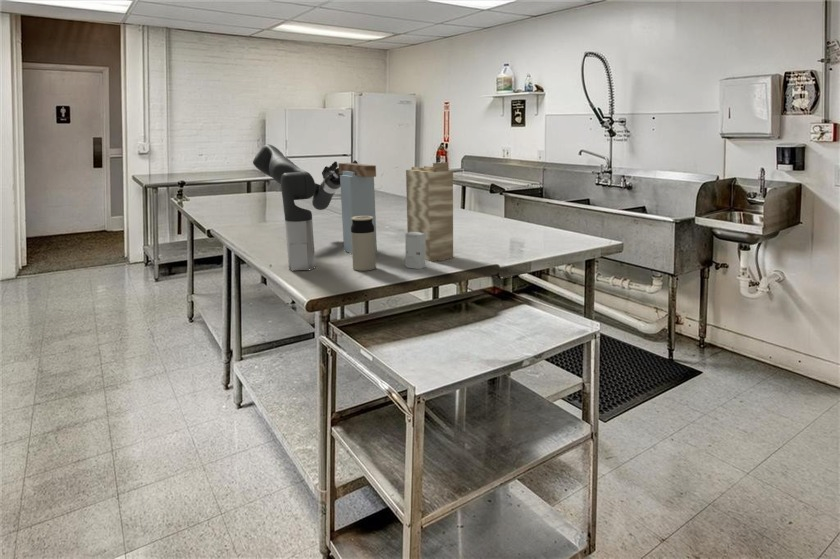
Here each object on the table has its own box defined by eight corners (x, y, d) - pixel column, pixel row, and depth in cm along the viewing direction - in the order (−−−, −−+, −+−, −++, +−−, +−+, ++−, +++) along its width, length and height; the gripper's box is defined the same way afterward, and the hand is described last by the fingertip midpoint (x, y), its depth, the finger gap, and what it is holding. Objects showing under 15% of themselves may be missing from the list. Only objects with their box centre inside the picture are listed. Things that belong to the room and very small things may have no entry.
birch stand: (453, 257, 208) (452, 162, 199) (430, 261, 203) (429, 163, 194) (429, 250, 221) (428, 160, 212) (408, 253, 216) (405, 161, 207)
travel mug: (380, 268, 195) (378, 216, 190) (363, 272, 189) (361, 219, 185) (365, 264, 200) (362, 214, 195) (348, 269, 195) (345, 217, 190)
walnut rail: (376, 176, 205) (375, 165, 204) (366, 177, 203) (365, 166, 202) (348, 172, 225) (347, 162, 224) (338, 173, 223) (338, 163, 222)
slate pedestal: (376, 251, 220) (373, 170, 212) (354, 255, 215) (349, 172, 207) (366, 248, 228) (363, 169, 219) (344, 251, 223) (339, 171, 214)
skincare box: (405, 267, 195) (404, 233, 192) (411, 264, 199) (410, 231, 196) (420, 269, 192) (419, 234, 189) (426, 266, 196) (426, 232, 193)
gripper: (314, 174, 230) (327, 155, 217) (346, 172, 238) (360, 153, 224) (319, 190, 229) (332, 172, 215) (350, 188, 236) (365, 170, 223)
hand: (346, 163), depth 220 cm, fingers open, 8 cm apart
